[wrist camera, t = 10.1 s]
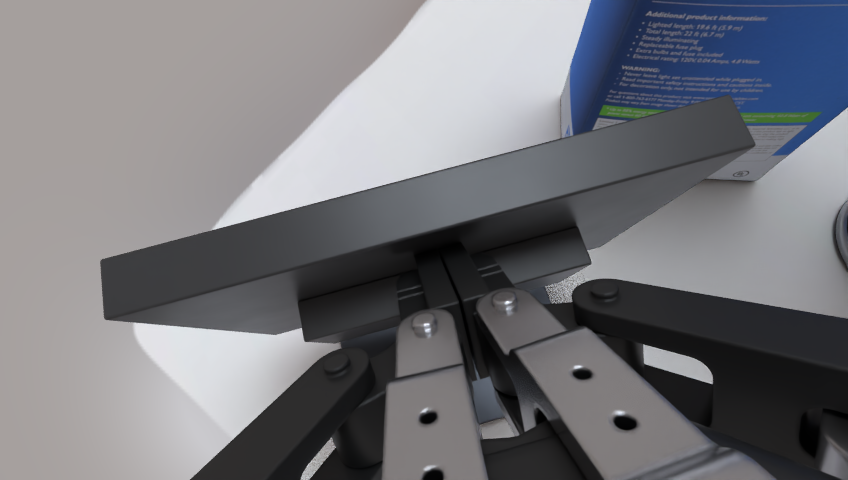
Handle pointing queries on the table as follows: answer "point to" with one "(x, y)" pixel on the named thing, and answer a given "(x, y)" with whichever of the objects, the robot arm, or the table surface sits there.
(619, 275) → the table surface
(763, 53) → the string lights box
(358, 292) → the panel
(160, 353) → the table surface
